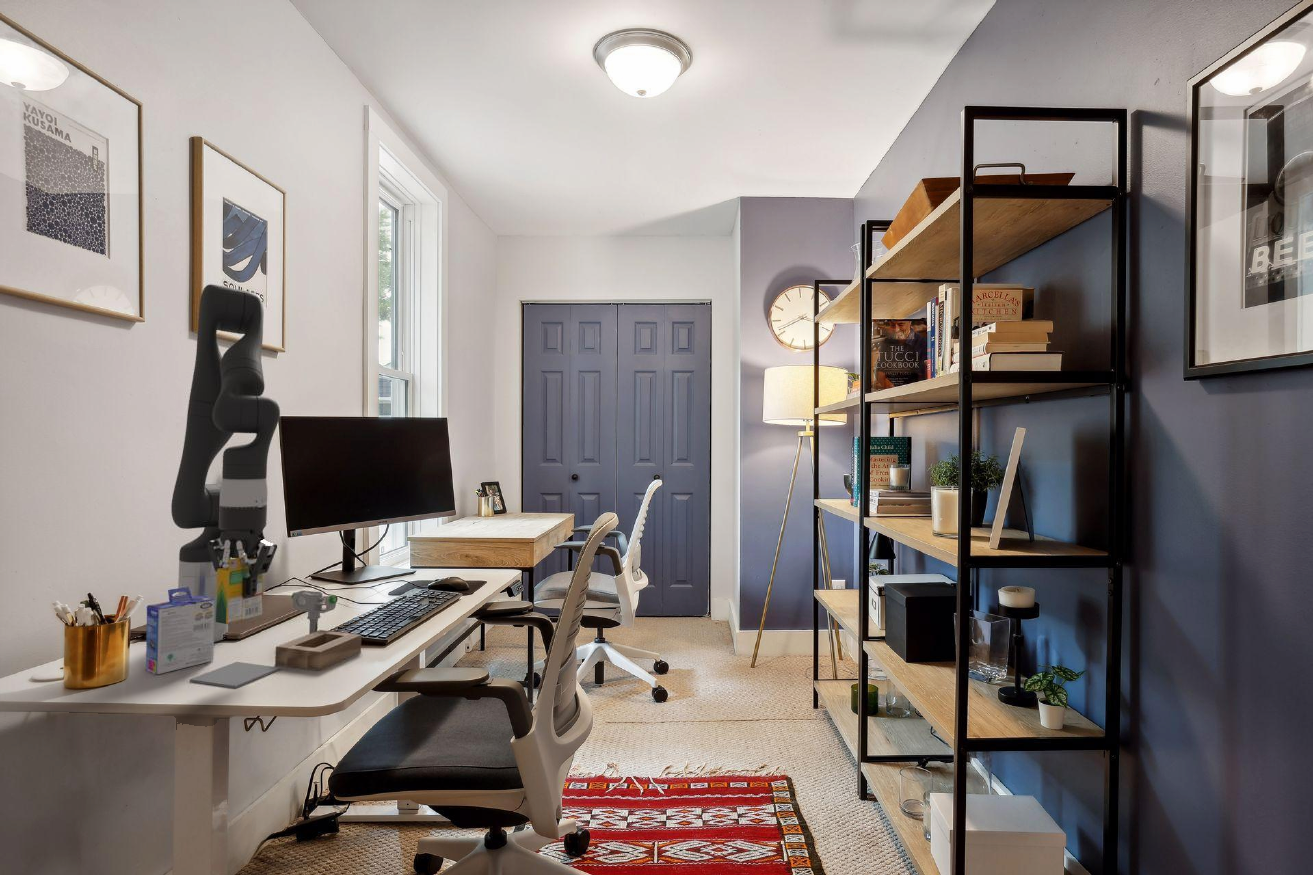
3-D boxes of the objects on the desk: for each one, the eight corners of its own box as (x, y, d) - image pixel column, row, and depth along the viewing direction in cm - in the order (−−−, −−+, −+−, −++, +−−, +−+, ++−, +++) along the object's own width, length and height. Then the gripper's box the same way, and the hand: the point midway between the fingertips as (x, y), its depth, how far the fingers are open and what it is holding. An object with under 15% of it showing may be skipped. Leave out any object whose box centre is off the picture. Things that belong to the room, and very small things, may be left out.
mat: (189, 681, 119) (189, 679, 119) (236, 663, 129) (236, 661, 129) (236, 688, 117) (236, 685, 117) (280, 669, 127) (280, 667, 127)
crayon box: (250, 612, 127) (253, 552, 127) (262, 614, 126) (265, 553, 126) (214, 622, 120) (217, 557, 120) (226, 624, 119) (229, 559, 119)
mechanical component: (328, 642, 144) (330, 596, 144) (287, 638, 146) (289, 592, 146) (338, 639, 147) (339, 593, 147) (297, 634, 149) (299, 589, 149)
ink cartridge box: (200, 655, 133) (203, 583, 133) (215, 661, 130) (218, 587, 130) (142, 669, 124) (145, 591, 124) (156, 675, 122) (160, 596, 122)
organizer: (275, 664, 129) (275, 646, 129) (319, 646, 141) (320, 629, 141) (319, 670, 127) (320, 652, 127) (360, 651, 139) (361, 634, 139)
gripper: (194, 502, 121) (190, 597, 121) (259, 506, 118) (255, 604, 118) (229, 499, 129) (225, 588, 128) (291, 503, 125) (288, 595, 125)
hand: (240, 595), depth 123 cm, fingers closed on crayon box, 3 cm apart
